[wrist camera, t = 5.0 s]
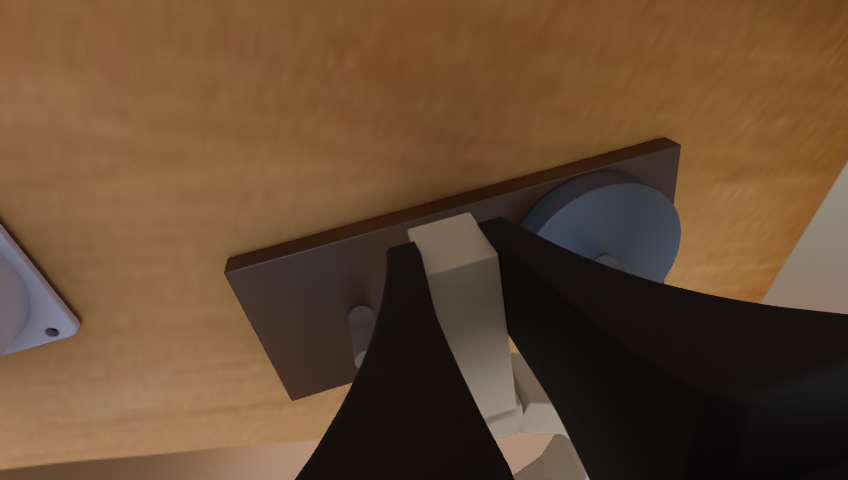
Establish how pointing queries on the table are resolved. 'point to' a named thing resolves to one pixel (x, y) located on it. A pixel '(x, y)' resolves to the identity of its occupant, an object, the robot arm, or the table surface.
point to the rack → (513, 200)
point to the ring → (489, 342)
